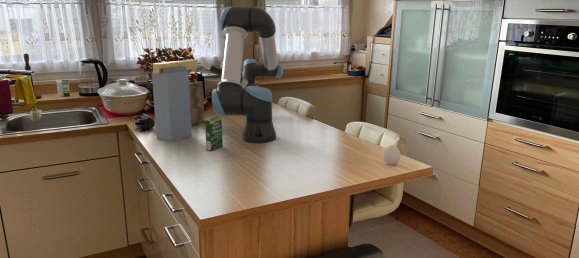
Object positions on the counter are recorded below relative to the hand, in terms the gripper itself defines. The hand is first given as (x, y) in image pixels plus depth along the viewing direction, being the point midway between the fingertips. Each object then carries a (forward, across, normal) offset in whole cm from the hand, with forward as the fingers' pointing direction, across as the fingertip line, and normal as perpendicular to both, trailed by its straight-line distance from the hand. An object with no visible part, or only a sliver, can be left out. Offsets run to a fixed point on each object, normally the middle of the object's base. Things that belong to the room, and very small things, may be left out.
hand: (211, 62), depth 217 cm
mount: (+8, -2, -40) cm, 41 cm away
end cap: (+6, +22, -40) cm, 46 cm away
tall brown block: (-14, +15, -28) cm, 35 cm away
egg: (-12, -98, -29) cm, 103 cm away
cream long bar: (+19, -1, -13) cm, 23 cm away
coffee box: (+9, -30, -42) cm, 52 cm away
